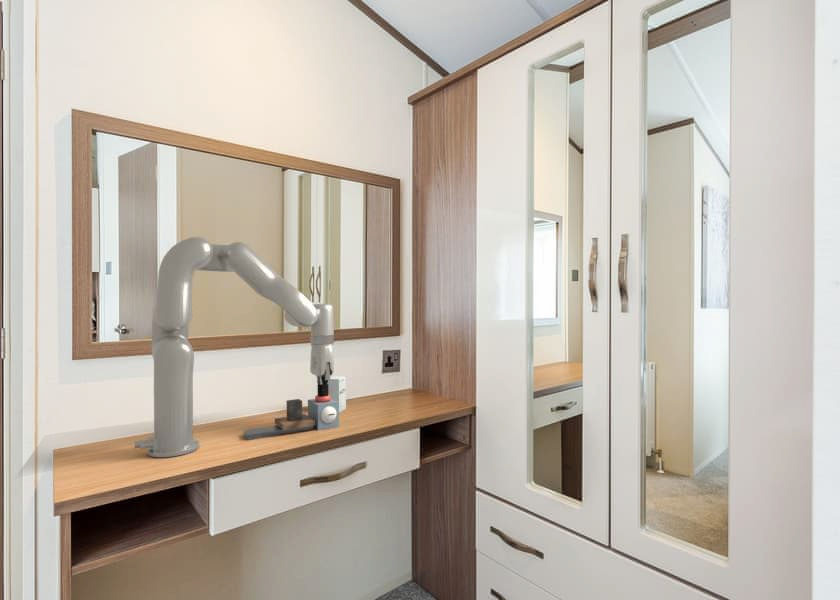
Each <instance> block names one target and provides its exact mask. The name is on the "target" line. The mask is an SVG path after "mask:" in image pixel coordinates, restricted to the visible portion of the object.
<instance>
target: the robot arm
mask: <svg viewBox="0 0 840 600" xmlns="http://www.w3.org/2000/svg"><path fill="white" fill-rule="evenodd" d="M196 271H206V272H219V273H220V272H224V273H226V272H228V273H233V272H234V273H235V274H236V275H237V276H239V278H241V279H242V280H243V282H245V283H246V285H248V286H249V287H250V288H251V290H253V291H254V292H255V293H256V294H257V295H260V296H261V297H263V298H264V299H266V300H269V301H270V302H273V303H274V304H276V305H277V306H279V307H280V308H281V309H283V310H284V319H285V321H286V323H288V324H289V325H291V326H293V327H301V328H309V327H310V347H311V348H310V349H311V351H310V363H309V364H310V368H309V370H310V373H311V375H314V376H315V377H316V383H317V385H316V386H317V388H316V389H317V395H318V396H319V397H323V396H328V384H329V380H330V376H333V375H334V369H335V368H334V366H335V365H334V364H335V363H334V350H333V346H334V345H335V341H334V340H335V339H334V338H335V336H334V332H335V331H334V306H333V305H332V304H331V303H312V302H311V301H310V300H309V299H308V298H307V296H305V295H304V294H303V293H302V292H301V291H300V290H299V289H297V288H296V287H295V286H293V284H291V283H289V282H288V281H287V280H286V279H284V278H283V277H282V276H280V275H279V274H278V273H277V272H276V271H275V270H274V269H273V268H272V267H271V266H269V264H267V262H266V261H265V260H264V259H262V257H261V256H260V255H258V253H257V252H255V250H254V249H253V248H252V247H250V245H248V244H246V243H244V242H242V241H236V242H232V243H229V244H213V243H210V241H209V240H207V239H205V238H204V237H200V236H193V237H188V238H186V239H183V240H181V241H179V242H177V243H176V244H174V245H173V246H172V247H170V249H169V250H168V251H166V253H165V255H164V256H163V258H162V261H161V262H160V265H159V270H158V274H157V275H158V277H157V289H156V290H157V291H156V305H155V306H154V308H153V311H152V316H151V356H152V358H153V429H154V430H153V433H154V434H152V437H148V438H147V439H141V440H134V449H140V450H142V449H147V455H148V456H149V457H153V458H169V457H170V458H172V457H177V456H182V455H186V454H190V453H192V452H195V451H197V450H198V449H199V448H200V442H199V441H198V440H197V439H196V440H195V439H194V365H195V353H194V349H193V346H192V344H191V343H190V342H189V327H190V326H189V325H190V323H192V322H191V321H192V319H193V304H192V303H193V302H192V296H193V292H192V291H193V282H194V281H193V279H194V276H195V273H196Z"/></svg>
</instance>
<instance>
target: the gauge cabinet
mask: <svg viewBox="0 0 840 600" xmlns="http://www.w3.org/2000/svg"><path fill="white" fill-rule="evenodd" d="M339 415H340V413H339V402H337V401H335V400H333V399H331V400H330V401H328V402H316V401H315V398H312V399H307V416H309V417H310V418H312V419H313V420H315V425H313V429H316V431H321V430H322V431H323V430H326V429H327V430H328V429H334V428H340V427H339V426H340V424H339V423H340V420H339V419H340V416H339Z"/></svg>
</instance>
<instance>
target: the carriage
mask: <svg viewBox="0 0 840 600" xmlns="http://www.w3.org/2000/svg"><path fill="white" fill-rule="evenodd" d="M274 424H275V426H276V425H277V426H279V427H280V428H281V429H282V430H288V429H294V428H300V427H307V426H313V425H315V420H313V419H312V418H310V417H309V416H308V414H305V413H304V414H303V400H302V399H299V398H298V399H297V398H296V399H287V400H286V416H282V417H275V418H274Z"/></svg>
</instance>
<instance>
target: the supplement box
mask: <svg viewBox="0 0 840 600" xmlns="http://www.w3.org/2000/svg"><path fill="white" fill-rule="evenodd" d="M346 381H347V377H346V376H342V375H340V376H339V375H338V376H337V375H330V380H329V384H328V395H330V396H331V399H333V400H335V401H337V402H339V414H340V413H341V412H342V411H344V410H346V408H347V386H346V385H347V382H346Z"/></svg>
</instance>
